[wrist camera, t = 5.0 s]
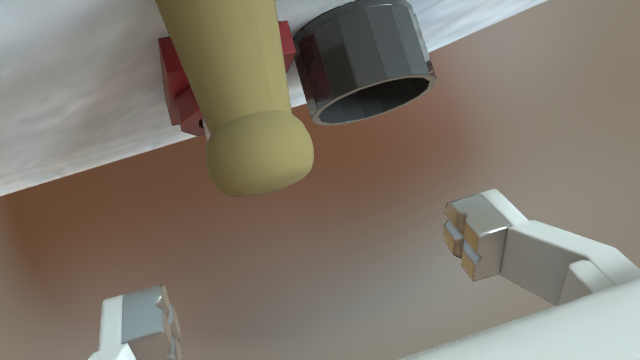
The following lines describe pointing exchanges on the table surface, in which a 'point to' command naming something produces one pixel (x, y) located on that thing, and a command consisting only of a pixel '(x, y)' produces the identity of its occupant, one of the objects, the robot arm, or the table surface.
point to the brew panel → (179, 89)
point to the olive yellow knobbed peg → (240, 92)
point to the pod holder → (362, 61)
